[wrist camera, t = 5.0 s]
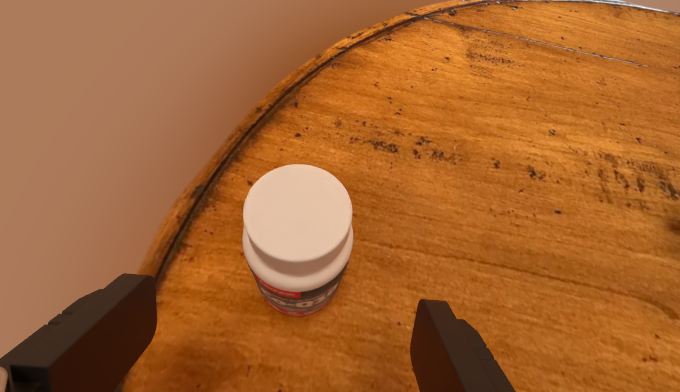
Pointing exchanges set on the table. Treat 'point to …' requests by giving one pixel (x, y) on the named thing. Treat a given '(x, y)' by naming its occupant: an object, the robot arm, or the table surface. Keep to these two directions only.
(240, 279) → the table surface
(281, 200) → the pill bottle
